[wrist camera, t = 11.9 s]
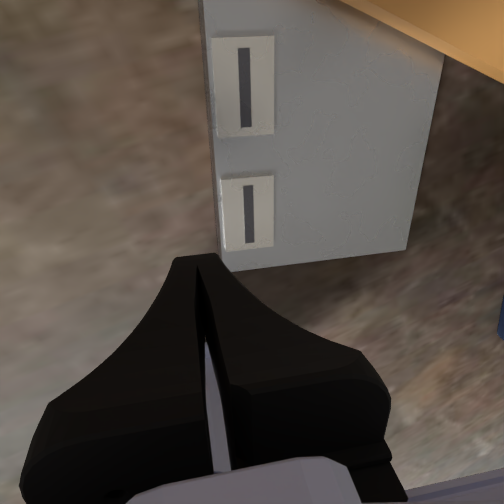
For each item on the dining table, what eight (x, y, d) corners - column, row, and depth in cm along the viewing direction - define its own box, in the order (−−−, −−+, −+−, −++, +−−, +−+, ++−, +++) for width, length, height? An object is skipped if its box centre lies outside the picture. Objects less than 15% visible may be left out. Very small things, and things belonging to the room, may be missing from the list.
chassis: (385, 231, 26) (408, 252, 23) (217, 250, 24) (223, 276, 22) (429, -33, 19) (469, -41, 16) (195, -31, 17) (200, -40, 15)
